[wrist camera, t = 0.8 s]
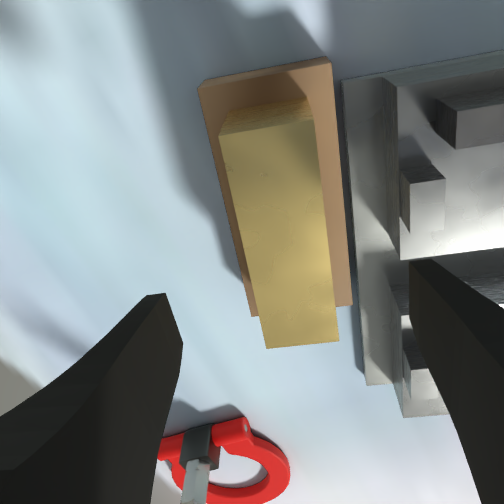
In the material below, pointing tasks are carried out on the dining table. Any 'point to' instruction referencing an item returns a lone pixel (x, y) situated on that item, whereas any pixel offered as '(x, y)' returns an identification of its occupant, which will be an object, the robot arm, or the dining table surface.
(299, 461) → the dining table surface
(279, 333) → the link bar
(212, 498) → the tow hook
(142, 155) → the dining table surface
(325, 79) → the block
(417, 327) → the robot arm
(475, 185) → the grey stepped metal block
